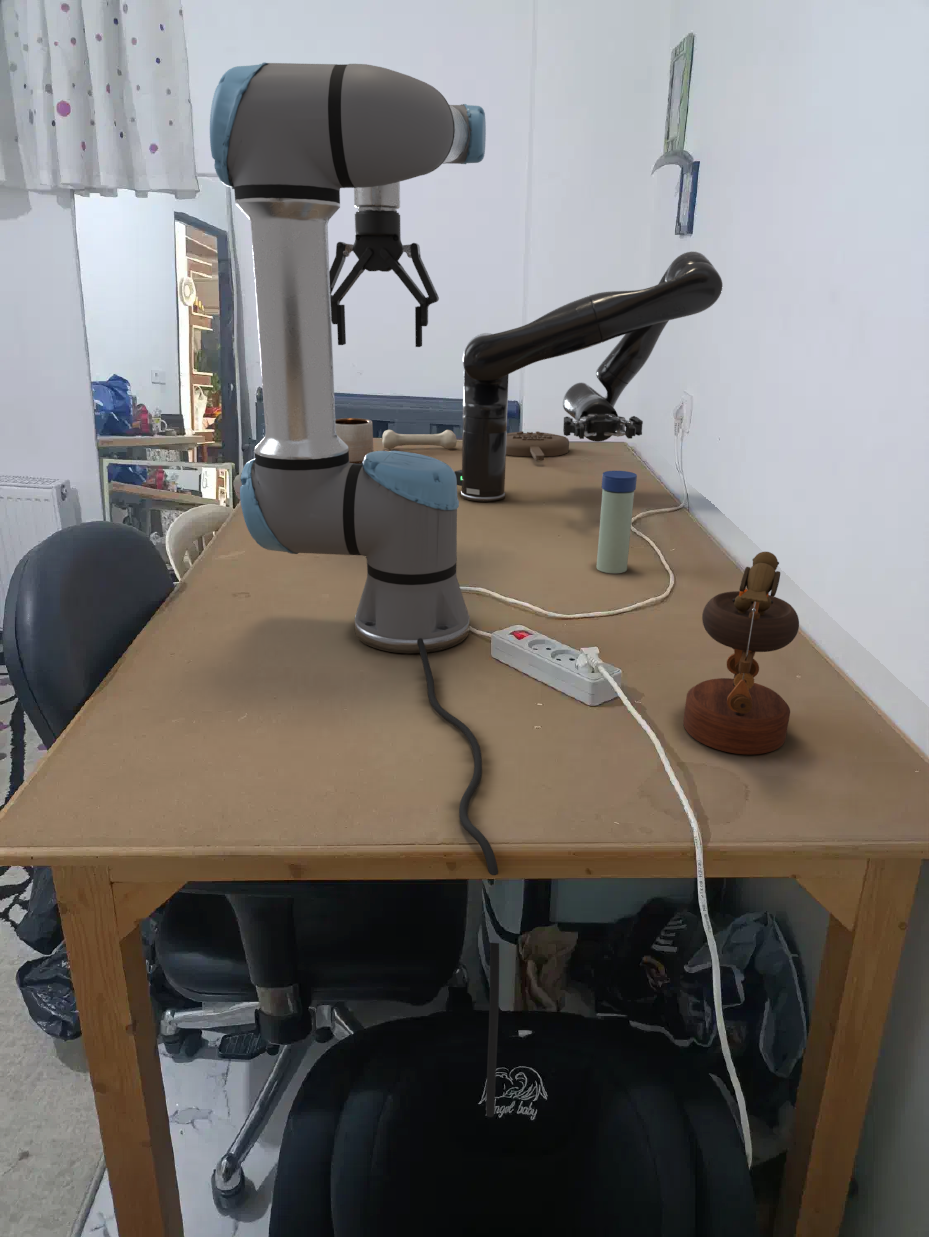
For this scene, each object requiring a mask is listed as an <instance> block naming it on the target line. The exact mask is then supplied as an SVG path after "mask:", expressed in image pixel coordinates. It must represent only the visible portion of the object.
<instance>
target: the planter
mask: <svg viewBox="0 0 929 1237" xmlns="http://www.w3.org/2000/svg"><path fill="white" fill-rule="evenodd" d="M335 425H336V434H337V436H338V437H339V438H340V439H341V440H342V441H343V442H344V443H345V444H346V445H347V446H348V448H349V462H350V463H354V464H362V462H363V460H364V458H365V456H366V455H367V454H368V453H370V452H374V450H375V449H374V430H373V429H374V428H373V420H371V419H369V418H362V417H361V418H360V417H342V418H341V417H340V418H335Z"/></svg>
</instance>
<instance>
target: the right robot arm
mask: <svg viewBox="0 0 929 1237" xmlns="http://www.w3.org/2000/svg"><path fill="white" fill-rule="evenodd" d="M722 287H724V286H723V280H722V277H721V275H720V274H719V272H718V270H717V269H716V268H715V266H714V265H713V264H712V262H711V261H710V260H709V259H708V258H707V256H706V255H705V254H703V253H701V252H698V251H687V252H684V253H682V254H680V255H678V256H677V257H676V258H675V259H673V261H671V263H670V264H669V265H668V267H667V269H666V270H665V272H664V274H663V275H662V277H661V279H660V280H659V282H658V284H655V285H652V286H650V287H646V288H641V289H634V290H610V291H602V292H601V291H600V292H596V293H594V294H589V295H587V296H584V297H581V298H579V299H576V300H573V301H571V302H568V303H566V304H563V305H562V306H559V307H557V308H555V309H553V310H551V311H549V312H547V313H546V314H543V315H542V316H540V317H539V318H536V319H534V320H533V321H530V322H528V323H526V324H524V325H522V326H518V327H516V328H511V329H508V330H505V331H504V330H503V331H500V332H496V333H489V332H484V333H480V334H477V335H475V336H474V337H472V338H471V339H470V340H469V342H468V343H467V344H466V346H465V347H464V350H463V354H462V366H463V394H462V425H461V426H462V429H461V430H462V433H461V434H462V437H461V469H458V470H454V473H455V475H456V479H457V486H459V487H461V490H460V497H461V498H463V499H464V500H467V501H471V502H479V503H480V502H481V503H484V502H485V503H486V502H497V501H500V500H503V499H504V498H505V497H506V490H505V488H506V487H505V486H506V463H507V462H506V461H507V460H506V459H507V455H506V436H507V433H508V432H507V430H508V408H509V406H508V405H509V375H511V374H512V373H514V372H516V371H518V370H519V371H520V370H521V369H523V368H526V367H527V366H529V365H532V364H536V363H538V362H540V361H541V362H542V361H544V360H549V359H553V358H558V357H561V356H565V355H569V354H572V353H575V352H579V351H581V350H586V349H589V348H592V347H594V346H597V345H600V344H602V343H604V342H608V341H610V340H613V339H615V338H618V337H621V336H622V337H621V339H619V341H618V343H616V345H615V346H614V347H613V349H612V350H611V351H610V352H609V353H608V355H607V356H606V357H605V358H604V359H603V361H602V362H601V363H600V364H599V365H598V367H597V369H596V371H595V377H596V378H597V380H598V381H599V383H601V385H602V386H603V388H604V390H605V391H606V395H605V396H603V395H602V394H600V393H599V392H598V391H597V390H595V388H593V387H591V386H590V385H589V384H587V383H585V382H576V383H574V384H572V385H571V386H570V387H569V388H568V389H567V390H566V391H565V393H564V396H563V398H562V408H563V410H564V411H565V412H566V414H568V415H569V416H564V417H563V426H562V428H563V436H565V437H568V436H571V434H573V436H574V437H578V438H579V439H580V440H584V439H587V440H589V441H592V442H597V443H599V442H604V441H607V440H608V439H610V438H611V437H617V438H618V437H624V436H625V437H626V438H627V439H633V437H636V436H642V435H643V424H644V421H643V420H642V419H640V418H639V417H637V416H635V415H633V416H630V417H629V418H628V420H627V419H626V417H624V416H621V415H618V412H617V410H616V408H615V405H616V403H617V402H618V400H619V398H620V396H621V394H622V393H623V392H624V391H625V389H626V388H627V386H628V385H629V384H630V383H631V381H632V380H633V379H634V378H635V377H636V376H637V374H638V373H639V372H640V371H641V369H642V368H643V367H644V366H645V364H646V363H647V361H648V360H649V358H650V356H651V354H652V352H653V351H654V348H655V346H656V344H657V342H658V341H659V338H660V336H661V335H662V333H663V331H664V329H665V328H666V326H667V324H668V323H669V321H673V320H676V319H680V318H681V319H682V318H685V317H689V316H692V315H697V314H699V313H702V312H705V311H706V310H708V309H709V308H711V307H712V306H713V305H714V304H715V303H716V302H717V301H718V300H719V298H720V297H721V295H722V292H723V288H722ZM721 291H722V292H721ZM570 416H571V417H570Z"/></svg>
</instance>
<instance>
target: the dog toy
mask: <svg viewBox="0 0 929 1237" xmlns="http://www.w3.org/2000/svg"><path fill="white" fill-rule="evenodd" d="M381 436H382V437H381V440H382V441H381V443H382V448H383V449H386V450H391V449H394V448H396V447H402V446H437V447H443V448H444V449H449V450H451V449H454V448H456V447H457V443H458V439H457V435H456V434H455V433H454V432H453V431H452V430H451V429H446V430H444V431H443V432H440V433H434V434H433V433H430V434H428V433H427V434H426V433H425V434H423V433H422V434H416V433H415V434H411V433H410V434H408V433H407V434H405V433H404V434H403V433H397V432H396V431H394V430H392V429H387V430H384V431H383V433H382V435H381Z"/></svg>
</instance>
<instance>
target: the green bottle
mask: <svg viewBox="0 0 929 1237" xmlns="http://www.w3.org/2000/svg"><path fill="white" fill-rule="evenodd" d="M601 491H602V492H601V493H602V494H601V504H600V506H601V507H600V516H599V530H598V531H599V532H598V542H597V544H598V545H597V555H596V556H597V557H596V566H595V567H596V569H597V571H599V572H601V573H606V574H623V573H625V572H627V571H628V564H629V563H628V561H629V554H630V552H629V550H630V540H631V531H632V530H631V529H632V522H633V521H632V519H633V509H634V508H633V507H634V497H635V490H634V491H632V492H612V491H607V490H604V489H602V490H601Z"/></svg>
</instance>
